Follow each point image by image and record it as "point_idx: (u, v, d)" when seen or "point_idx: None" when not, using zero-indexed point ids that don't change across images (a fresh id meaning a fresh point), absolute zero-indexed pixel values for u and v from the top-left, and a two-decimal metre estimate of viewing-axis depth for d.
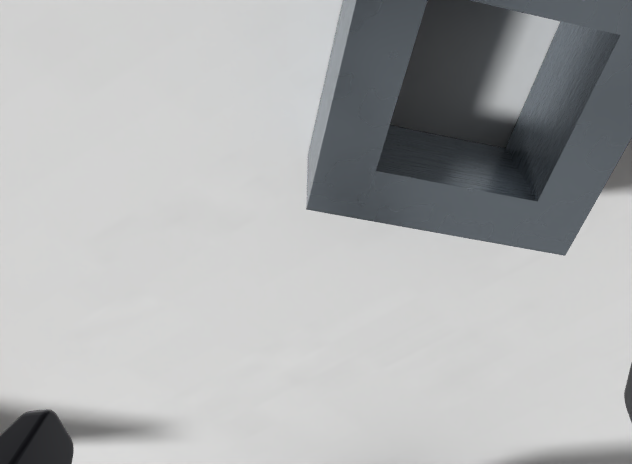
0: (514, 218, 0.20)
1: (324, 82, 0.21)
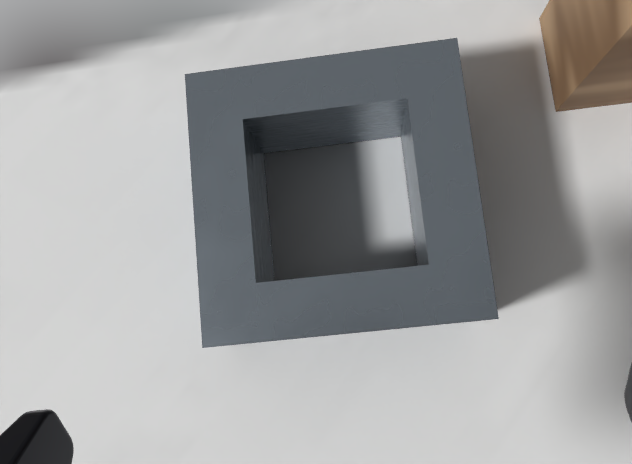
0: (416, 291, 0.18)
1: None
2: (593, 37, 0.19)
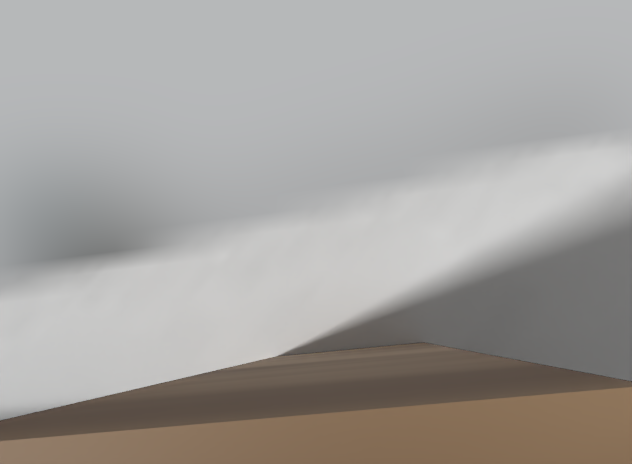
0: None
1: None
2: None
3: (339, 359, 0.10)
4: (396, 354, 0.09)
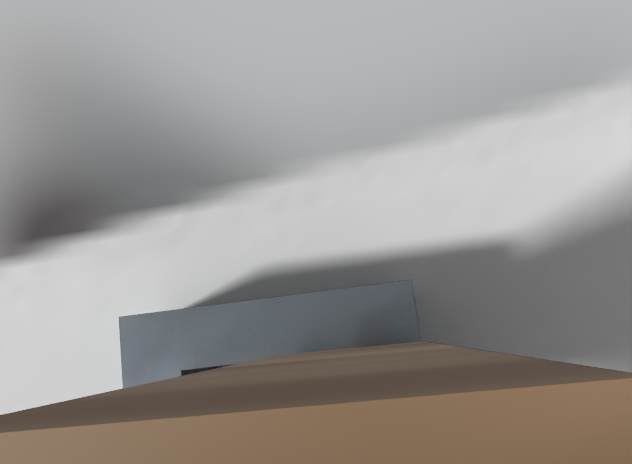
0: None
1: None
2: None
3: (340, 357, 0.10)
4: (397, 352, 0.09)
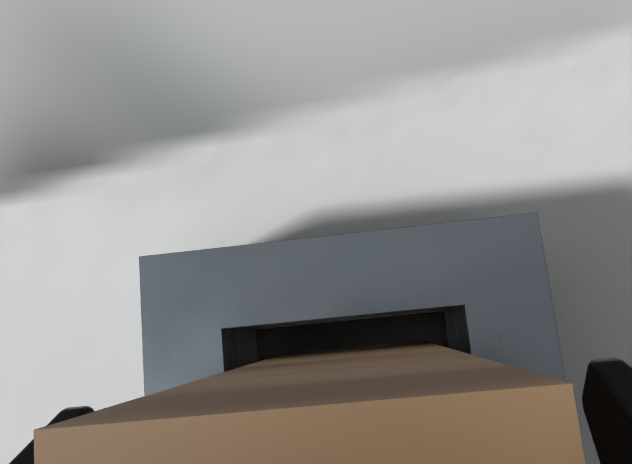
0: None
1: None
2: None
3: (348, 357, 0.11)
4: (397, 353, 0.11)
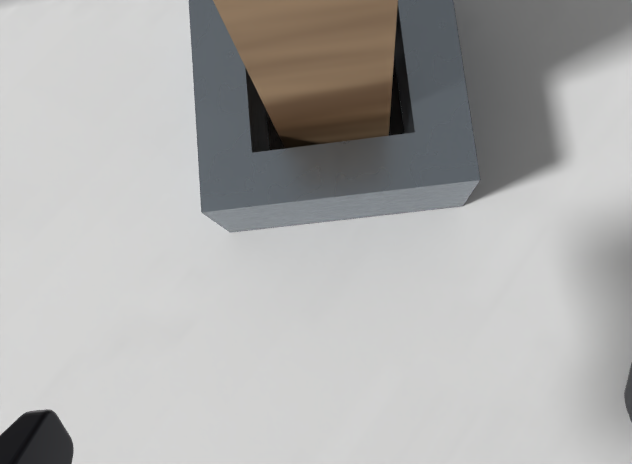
0: (403, 156, 0.19)
1: None
2: None
3: None
4: None
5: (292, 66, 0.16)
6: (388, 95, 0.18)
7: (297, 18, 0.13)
